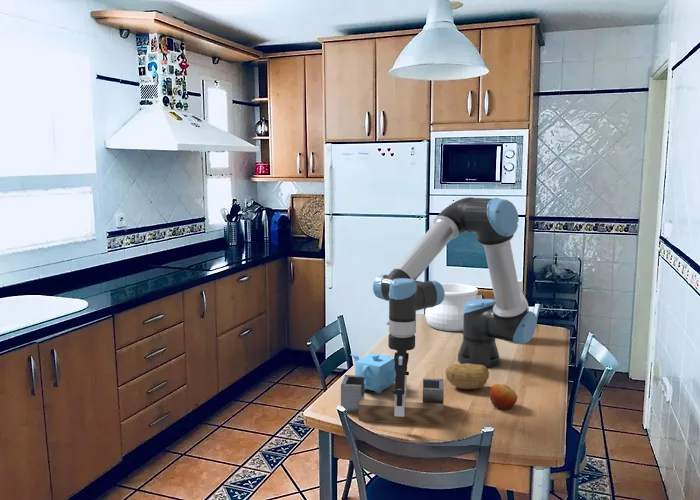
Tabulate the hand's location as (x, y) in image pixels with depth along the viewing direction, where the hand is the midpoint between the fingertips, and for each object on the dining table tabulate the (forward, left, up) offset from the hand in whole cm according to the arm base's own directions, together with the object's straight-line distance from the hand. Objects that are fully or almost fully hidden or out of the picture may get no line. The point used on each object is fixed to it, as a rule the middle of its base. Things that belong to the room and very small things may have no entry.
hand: (400, 406), depth 170 cm
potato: (-20, -27, -4) cm, 34 cm away
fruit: (-30, -13, -4) cm, 33 cm away
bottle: (-43, -84, -4) cm, 95 cm away
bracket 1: (+15, -8, -4) cm, 17 cm away
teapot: (+10, -24, -4) cm, 27 cm away
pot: (-18, -104, -4) cm, 106 cm away
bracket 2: (-9, -8, -4) cm, 13 cm away
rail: (0, 0, -4) cm, 4 cm away
